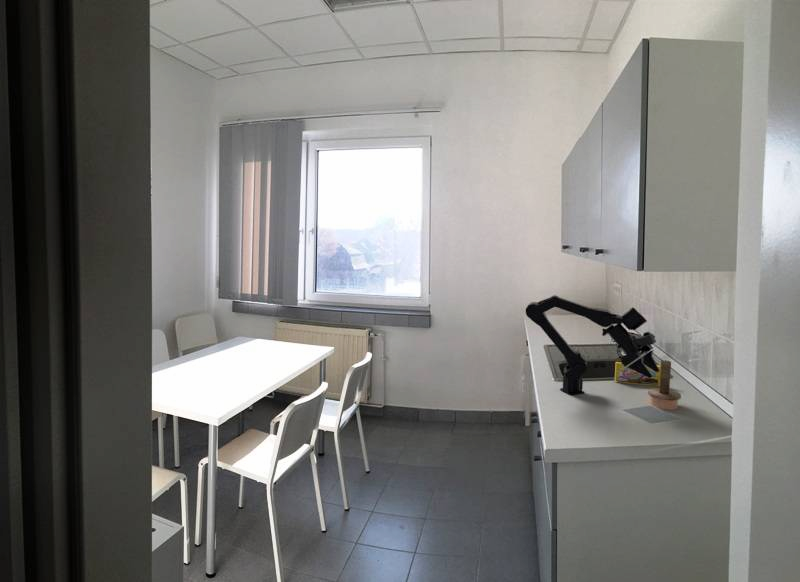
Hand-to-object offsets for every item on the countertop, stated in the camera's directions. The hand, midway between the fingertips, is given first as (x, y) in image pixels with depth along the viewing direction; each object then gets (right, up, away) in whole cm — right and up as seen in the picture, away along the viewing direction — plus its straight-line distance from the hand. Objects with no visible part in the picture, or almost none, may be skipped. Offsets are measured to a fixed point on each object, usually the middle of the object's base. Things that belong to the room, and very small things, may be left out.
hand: (654, 374), depth 161 cm
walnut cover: (+2, -7, -1) cm, 8 cm away
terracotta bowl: (+3, -11, -1) cm, 11 cm away
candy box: (+6, -8, +24) cm, 26 cm away
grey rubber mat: (-6, -12, -9) cm, 16 cm away
